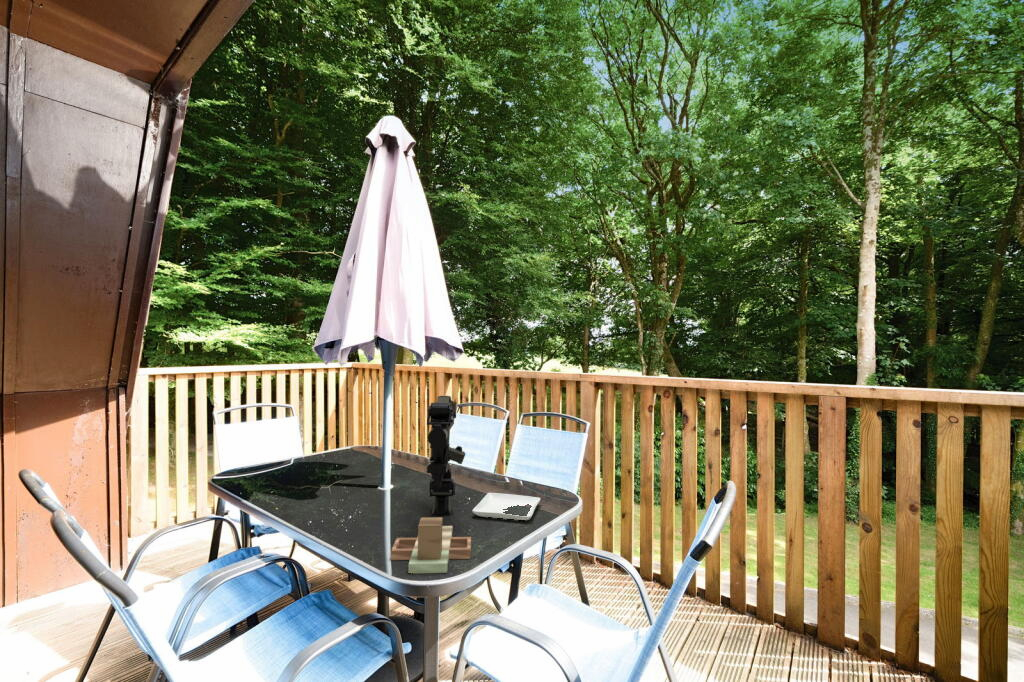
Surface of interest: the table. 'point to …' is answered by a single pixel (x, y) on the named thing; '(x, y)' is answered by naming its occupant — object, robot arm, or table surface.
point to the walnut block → (430, 538)
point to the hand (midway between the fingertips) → (438, 488)
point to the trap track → (450, 550)
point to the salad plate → (504, 505)
